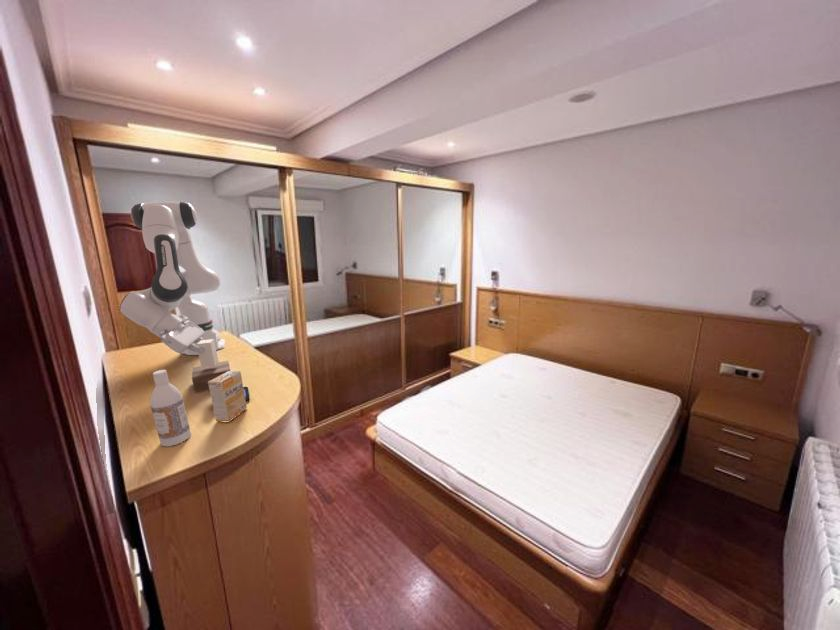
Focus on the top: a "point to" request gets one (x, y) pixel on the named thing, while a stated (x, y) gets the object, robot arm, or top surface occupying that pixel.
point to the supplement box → (227, 395)
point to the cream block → (208, 353)
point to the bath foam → (168, 411)
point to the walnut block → (207, 375)
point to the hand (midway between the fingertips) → (205, 349)
